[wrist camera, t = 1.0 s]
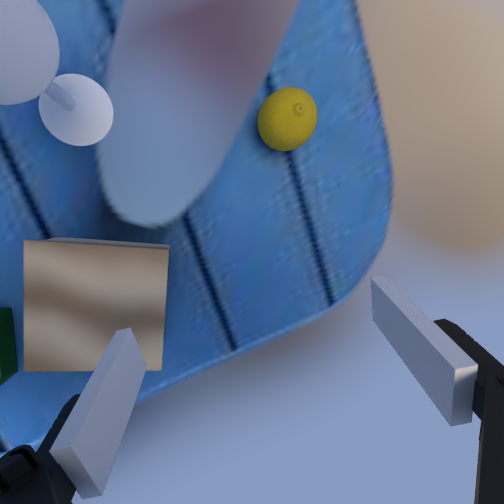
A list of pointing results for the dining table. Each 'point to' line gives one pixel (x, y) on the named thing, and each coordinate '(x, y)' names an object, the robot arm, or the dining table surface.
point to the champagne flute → (48, 77)
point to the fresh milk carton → (7, 346)
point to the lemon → (287, 119)
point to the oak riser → (91, 301)
